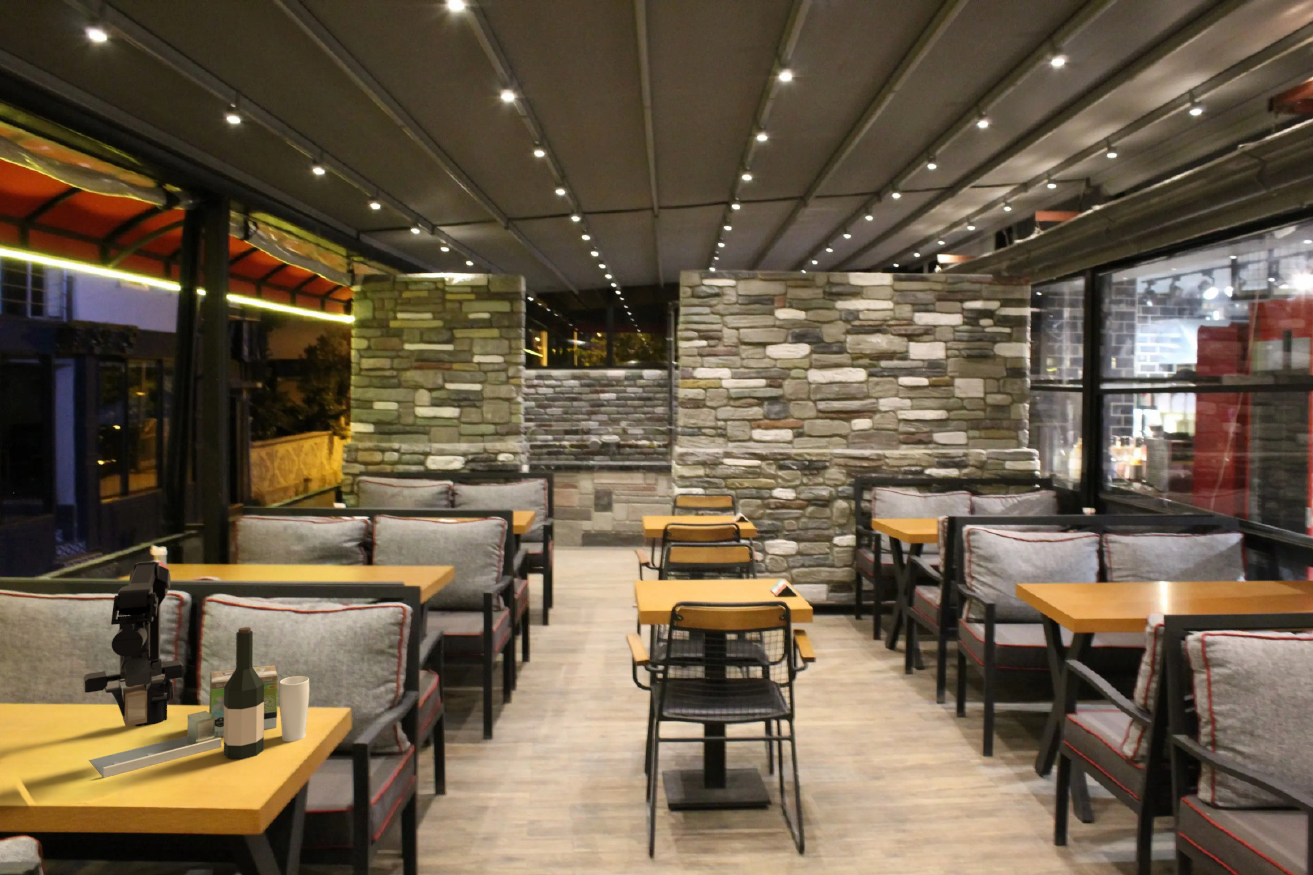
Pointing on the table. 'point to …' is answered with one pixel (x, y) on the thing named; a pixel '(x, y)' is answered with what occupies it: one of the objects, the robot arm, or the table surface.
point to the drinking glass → (294, 707)
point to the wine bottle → (243, 704)
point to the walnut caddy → (135, 705)
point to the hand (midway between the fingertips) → (134, 713)
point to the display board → (150, 755)
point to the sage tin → (200, 727)
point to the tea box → (270, 696)
